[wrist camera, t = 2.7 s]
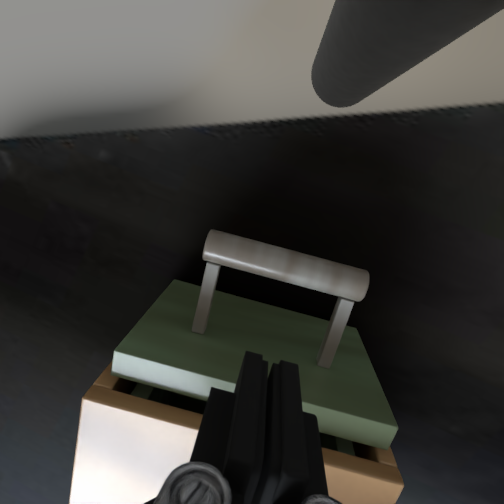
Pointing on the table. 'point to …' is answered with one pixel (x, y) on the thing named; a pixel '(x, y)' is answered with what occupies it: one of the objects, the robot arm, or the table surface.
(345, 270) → the drawer
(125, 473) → the cabinet
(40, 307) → the table surface
